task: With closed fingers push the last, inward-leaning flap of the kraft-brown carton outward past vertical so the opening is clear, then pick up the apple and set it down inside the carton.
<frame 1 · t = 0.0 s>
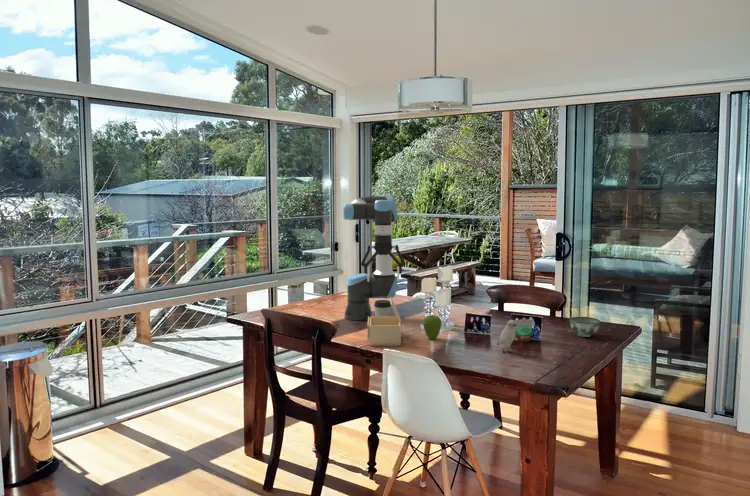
hand: (383, 281, 281), 28 cm above the table, fingers open, 13 cm apart
bowl: (584, 336, 293), on the table
coffee cup: (382, 332, 303), on the table
bird: (506, 353, 265), on the table
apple: (432, 339, 288), on the table
flap: (395, 310, 284), point 14 cm above the table, hinge at 25.0°
food container: (524, 341, 285), on the table
carton: (384, 340, 286), on the table
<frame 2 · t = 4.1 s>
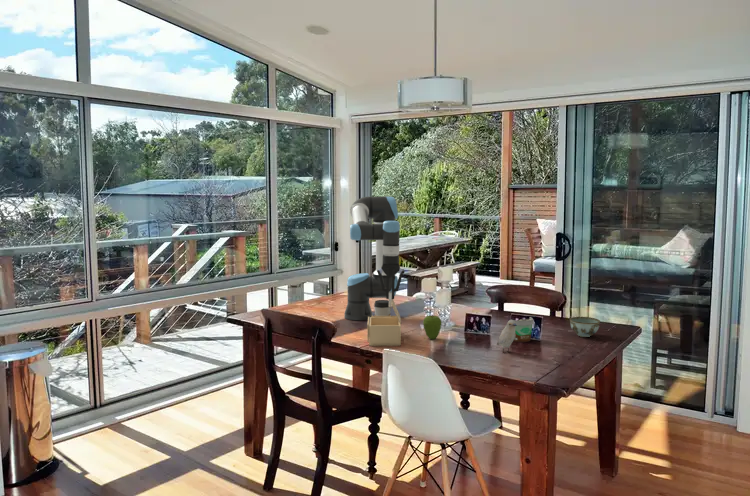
hand: (390, 306, 284), 16 cm above the table, fingers closed
flap: (395, 310, 284), point 14 cm above the table, hinge at 22.4°, touching gripper
everything else where it was.
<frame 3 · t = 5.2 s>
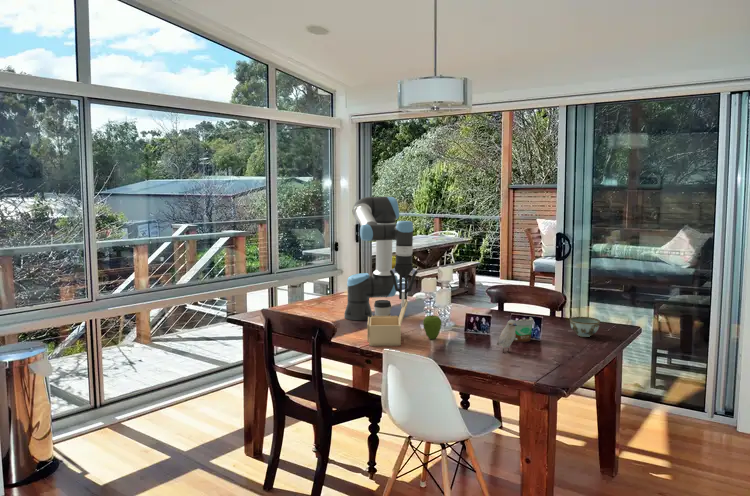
hand: (402, 306, 283), 16 cm above the table, fingers closed
flap: (403, 310, 284), point 14 cm above the table, hinge at -17.0°, touching gripper
everything else where it was.
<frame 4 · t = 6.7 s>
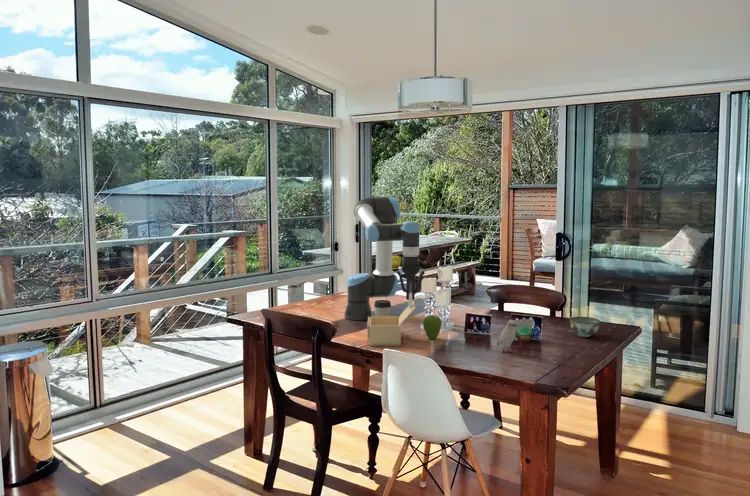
hand: (410, 306, 284), 16 cm above the table, fingers closed
flap: (407, 312, 284), point 13 cm above the table, hinge at -41.7°, touching gripper
everything else where it was.
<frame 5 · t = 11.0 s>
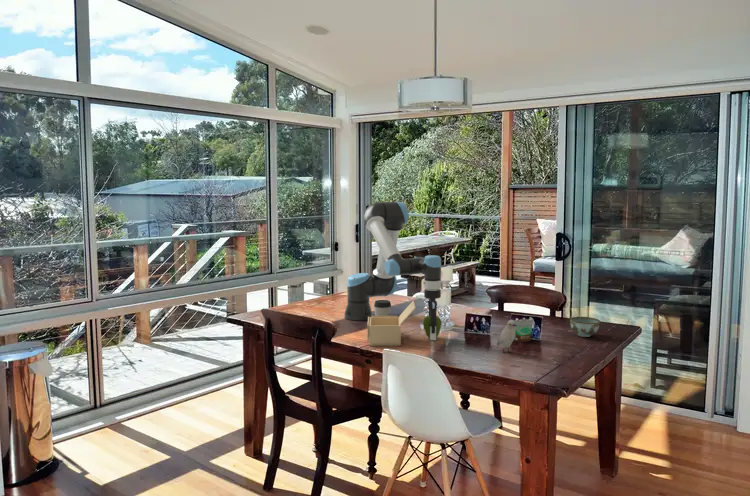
hand: (432, 337, 288), 1 cm above the table, fingers closed on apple, 8 cm apart
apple: (432, 339, 288), on the table, touching gripper
flap: (407, 312, 284), point 13 cm above the table, hinge at -41.8°
everything else where it was.
when the fingers open (4 cm above the table, at t = 18.3 s): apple drops 3 cm, resting on carton.
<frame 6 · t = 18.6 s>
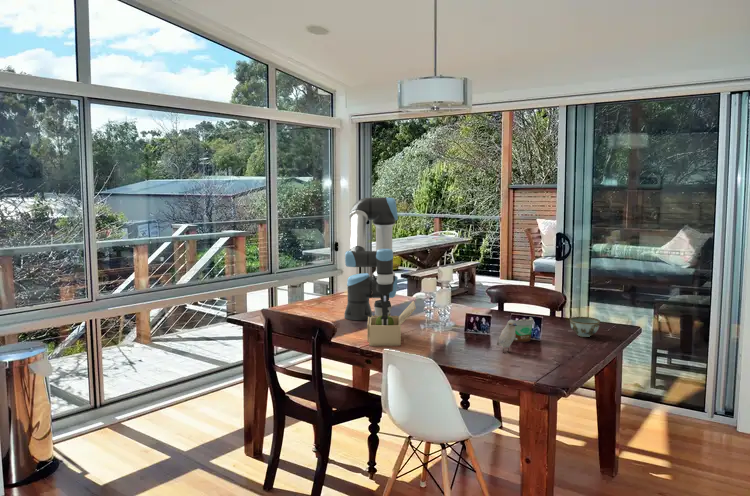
hand: (384, 329, 285), 5 cm above the table, fingers open, 11 cm apart
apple: (384, 339, 286), resting on carton
everything else where it was.
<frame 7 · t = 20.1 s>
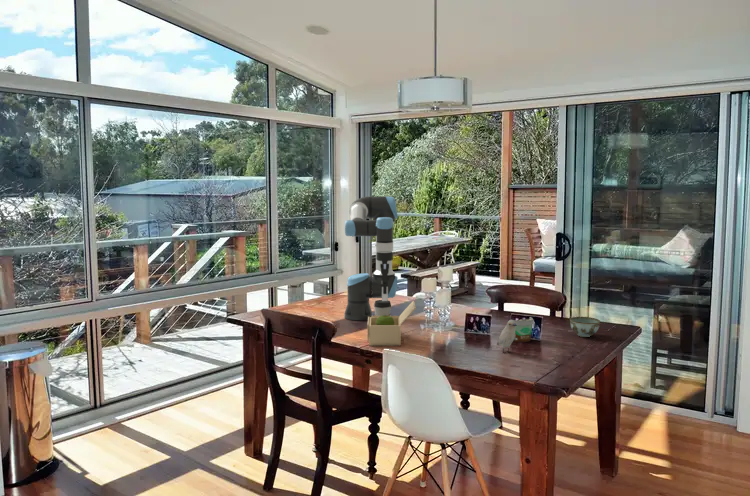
hand: (384, 297, 284), 20 cm above the table, fingers open, 13 cm apart
nothing on the table moved.
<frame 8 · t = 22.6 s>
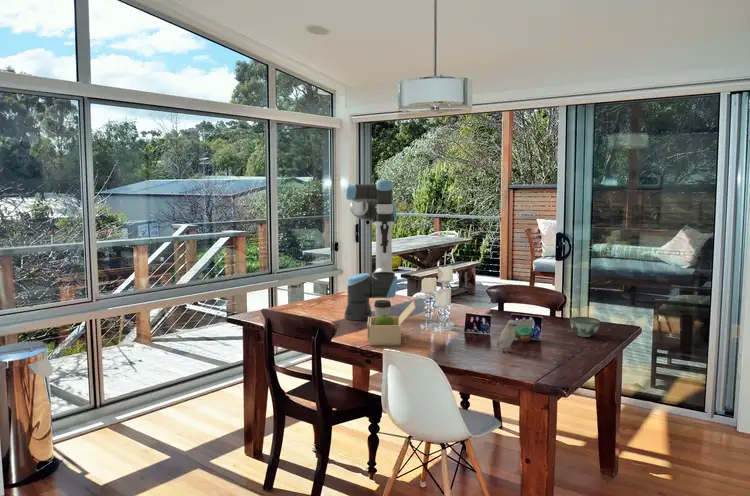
hand: (384, 258, 294), 37 cm above the table, fingers open, 13 cm apart
nothing on the table moved.
at the end: flap at -42° (first picture: +25°); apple inside the target area on the carton (0.4 cm from its centre), point 0.4 cm above the carton's base; the gripper is holding nothing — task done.
